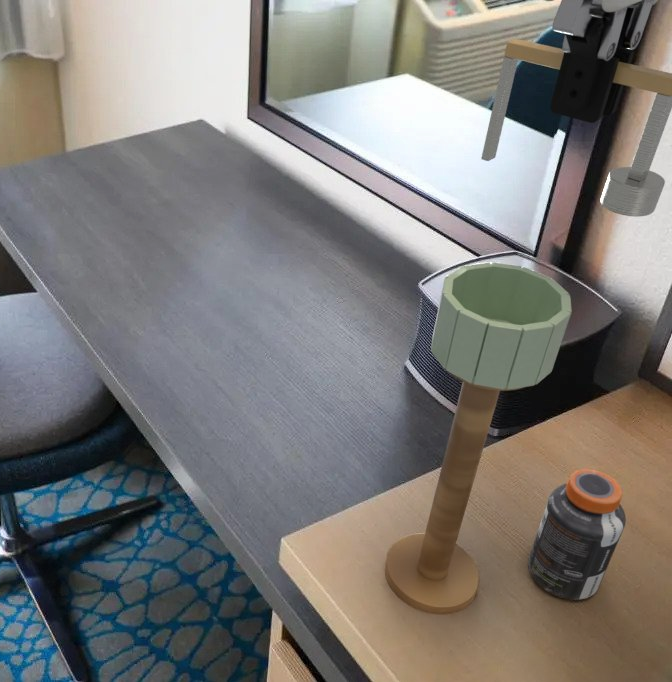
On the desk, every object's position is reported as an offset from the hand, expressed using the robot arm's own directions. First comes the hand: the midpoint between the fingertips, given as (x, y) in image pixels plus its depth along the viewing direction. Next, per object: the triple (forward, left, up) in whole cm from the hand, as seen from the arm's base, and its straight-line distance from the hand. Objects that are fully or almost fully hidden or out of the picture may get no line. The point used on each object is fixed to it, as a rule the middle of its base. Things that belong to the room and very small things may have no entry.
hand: (581, 111), depth 51 cm
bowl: (-2, +8, -15) cm, 17 cm away
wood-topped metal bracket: (0, 0, -5) cm, 5 cm away
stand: (-2, +8, -41) cm, 42 cm away
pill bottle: (-9, -1, -41) cm, 42 cm away
